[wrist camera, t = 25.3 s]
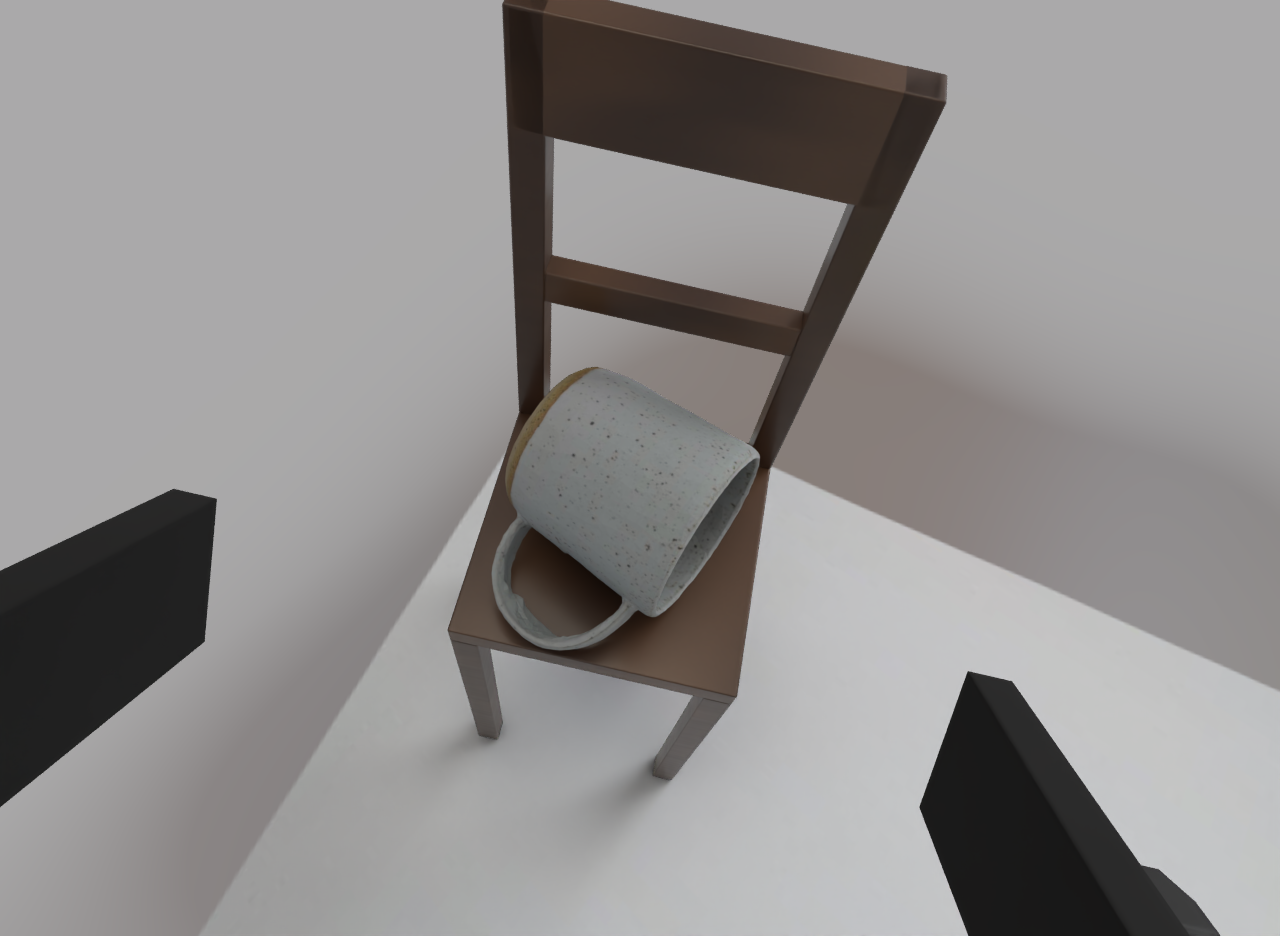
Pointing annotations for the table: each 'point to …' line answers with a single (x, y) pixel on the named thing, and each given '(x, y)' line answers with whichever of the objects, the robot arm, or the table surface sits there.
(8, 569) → the robot arm
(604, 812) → the table surface
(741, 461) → the ceramic mug
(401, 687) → the table surface
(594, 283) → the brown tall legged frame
